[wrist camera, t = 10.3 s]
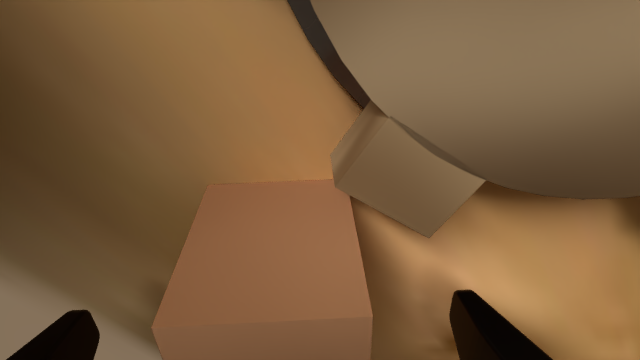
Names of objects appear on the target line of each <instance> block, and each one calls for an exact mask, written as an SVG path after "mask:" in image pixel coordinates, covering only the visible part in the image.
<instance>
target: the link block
mask: <svg viewBox="0 0 640 360" xmlns="http://www.w3.org/2000/svg"><path fill="white" fill-rule="evenodd" d="M372 325H373V314H372V309H371V304H370V298H369V293H368V288H367V283H366V278H365V273H364V268H363V262H362V257H361V252H360V247H359V242H358V237H357V232H356V227H355V221H354V216H353V211H352V206H351V201H350V196H349V195H348V194H346V193H345V192H343V191H341V190H339V189H337V188H335V184H334V179H328V180H305V181H282V182H259V183H236V184H213V185H208V186H207V188H206V191H205V193H204V196H203V198H202V201H201V203H200V206H199V208H198V211H197V213H196V216H195V218H194V221H193V224H192V226H191V229H190V231H189V234H188V236H187V239H186V241H185V244H184V246H183V249H182V251H181V254H180V256H179V259H178V261H177V264H176V266H175V269H174V271H173V274H172V276H171V279H170V281H169V284H168V286H167V289H166V291H165V294H164V297H163V299H162V302H161V304H160V307H159V309H158V312H157V314H156V317H155V319H154V322H153V324H152V327H151V329H152V332H153V335H154V337H155V340H156V343H157V346H158V348H159V351H160V354H161V356H162V359H163V360H370V357H371V341H372Z"/></svg>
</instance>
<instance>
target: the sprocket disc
mask: <svg viewBox="0 0 640 360" xmlns="http://www.w3.org/2000/svg"><path fill="white" fill-rule="evenodd" d="M310 1H311V4H312V6H313V9H314V11H315V13H316V15H317V17H318V18H319V20H320V22H321V24H322V26H323V27H324V29H325V31H326V33H327V35H328V36H329V38H330V40H331V42H332V44H333V45H334V47H335V49H336V51H337V53H338V54H339V56H340V58H341V60H342V61H343V63H344V64H345V65H346V67H347V68H348V69H349V71H350V72H351V73H352V75H353V76H354V77H355V79H356V80H357V81H358V83H359V84H360V85H361V87H362V88H363V90H364V91H365V92H366V94H367V95H368V96H369V98H370V99H371V100H370V102H369V103H368V104H367V106H366V107H365V108H364V110H363V111H362V112H361V114H360V115H359V117H358V118H357V119H356V121H355V122H354V123H353V125H352V126H351V127H350V129H349V130H348V131H347V133H346V134H345V136H344V137H343V138H342V140H341V141H340V142H339V144H338V145H337V146H336V148H335V149H334V150H333V152H332V153H331V155H330V156H331V163H332V170H333V177H334V184H335V188H337V189H339V190H341V191H343V192H345V193H346V194H348V195H350V196H352V197H354V198H356V199H358V200H359V201H361V202H363V203H365V204H367V205H369V206H370V207H372V208H374V209H376V210H378V211H380V212H381V213H383V214H385V215H387V216H389V217H391V218H392V219H394V220H396V221H398V222H400V223H402V224H403V225H405V226H407V227H409V228H411V229H413V230H414V231H416V232H418V233H420V234H422V235H424V236H425V237H427V238H430V237H431V236H432V235H433V234H434V233H435V232H436V231H437V230H438V229H439V228H440V227H441V226H442V225H443V224H444V223H445V222H446V221H447V220H448V219H449V218H450V217H451V216H452V215H453V214H454V212H455V211H456V210H457V209H458V208H459V207H460V206H461V205H462V204H463V203H464V202H465V201H466V200H467V199H468V198H469V197H470V196H471V195H472V194H473V193H474V192H475V191H476V190H477V189H478V188H479V187H480V186H481V185H482V184H483V183H484V182H485V181H486V180H487V181H489V182H492V183H495V184H498V185H500V186H503V187H506V188H510V189H515V190H519V191H524V192H529V193H533V194H538V195H542V196H552V197H563V198H575V199H606V198H627V197H635V196H640V0H310Z"/></svg>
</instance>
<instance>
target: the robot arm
mask: <svg viewBox="0 0 640 360" xmlns="http://www.w3.org/2000/svg"><path fill="white" fill-rule="evenodd" d="M449 316H450V323H451V327H452V331H453V335H454V339H455V342H456V346H457V350H458V354H459V358H460V360H553V359H552V358H550V357H549V356H548V355H547V354H546V353H545V352H543V351H542V350H541V349H540V348H539V347H538V346H536V345H535V344H534V343H533V342H532V341H531V340H530V339H528V338H527V337H526V336H525V335H524V334H523V333H521V332H520V331H519V330H518V329H517V328H516V327H514V326H513V325H512V324H511V323H510V322H509V321H507V320H506V319H505V318H504V317H503V316H502V315H501V314H499V313H498V312H497V311H496V310H495V309H494V308H492V307H491V306H490V305H489V304H488V303H487V302H485V301H484V300H483V299H482V298H481V297H480V296H478V295H477V294H476V293H475V292H474V291H472V290H457V291H455V292H454V294H453V298H452V303H451V308H450V314H449ZM99 338H100V334H99V330H98V328H97V326H96V324H95V322H94V320H93V318H92V315H91V313H90V312H89V311H88V310H72V311H69V312H67V313H65V314H64V315H63V316H62V317H60V318H59V319H58V320H56V321H55V322H54V323H53V324H51V325H50V326H49V327H48V328H46V329H45V330H44V331H42V332H41V333H40V334H39V335H37V336H36V337H35V338H33V339H32V340H31V341H30V342H28V343H27V344H26V345H24V346H23V347H22V348H21V349H19V350H18V351H17V352H16V353H14V354H13V355H12V356H10V357H9V358H8V359H7V360H93V359H94V356H95V353H96V349H97V346H98V343H99Z"/></svg>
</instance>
